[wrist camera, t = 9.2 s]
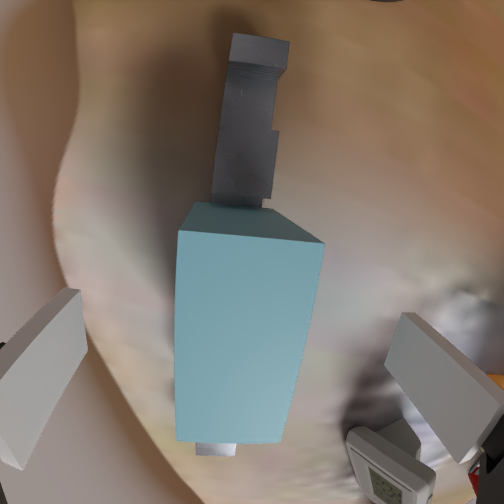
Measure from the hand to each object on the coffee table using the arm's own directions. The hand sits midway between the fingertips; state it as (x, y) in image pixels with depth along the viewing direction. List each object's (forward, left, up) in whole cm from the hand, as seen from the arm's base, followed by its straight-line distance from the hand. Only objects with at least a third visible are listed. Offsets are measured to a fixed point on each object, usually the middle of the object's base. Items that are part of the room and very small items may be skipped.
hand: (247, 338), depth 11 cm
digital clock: (+21, +18, -9) cm, 29 cm away
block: (0, 0, -8) cm, 8 cm away
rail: (0, 0, -9) cm, 9 cm away
